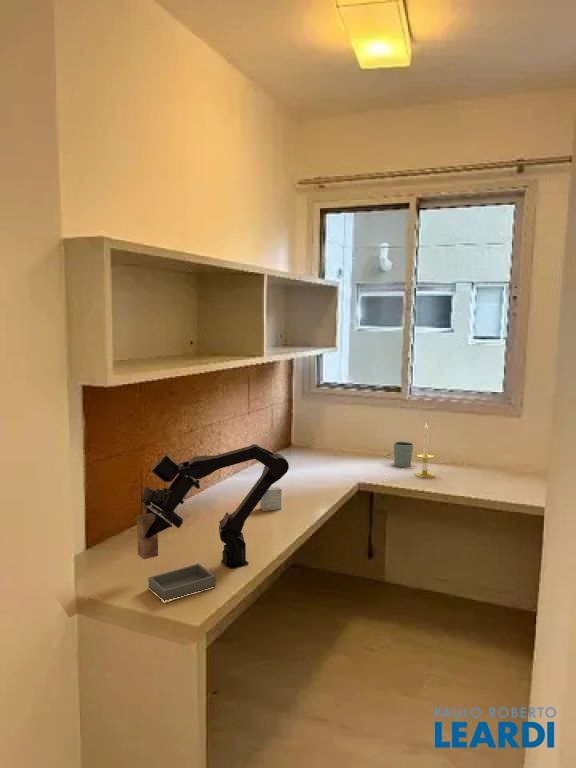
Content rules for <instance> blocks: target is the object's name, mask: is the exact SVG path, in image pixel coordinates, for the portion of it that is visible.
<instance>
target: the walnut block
mask: <svg viewBox="0 0 576 768" xmlns="http://www.w3.org/2000/svg"><path fill="white" fill-rule="evenodd" d="M154 521H155V515H154V514H152V513H148V514H145V513H144V514H139V515H136V529H137V531H136V533H137V535H136V537H137V555H138V556H139V557H140V558H141V559H143V560H147V559H151V558H156V557H158V556H159V534H158V533H157V534H155V535H153V536H151V537H150V538H146V537H145V535H146V533H147V532H148V530H149V529H150V527H151V526H152V524H153V522H154Z"/></svg>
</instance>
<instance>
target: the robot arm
mask: <svg viewBox="0 0 576 768" xmlns="http://www.w3.org/2000/svg"><path fill="white" fill-rule="evenodd" d="M252 460H256V461H258V462H259V463H261V464H262V465H264V467H263V470H262V472H261V474H260V477H259V478H258V480H257V481H256V482H255V483H254V485H253V487H252V488H251V489H250V491H249V492H248V493H247V495H246V496H245V497H244V499H243V500H242V501H241V503H240V504H239V506H237V508H236V510H235V511H233V512H231V513H229V512H228V511H227V512H225V514H224V516H223V518H221V520H219V521H218V523H219V525H218V533H219V538H220V541H221V542H222V543H223V550H222V559H221V561H220V563H221V564H223V565H225V566H226V567H227V568H229V569H231V570H233V569H237V568H239V567H242V566H246V565H247V566H248V565H249V561H247V559H246V555H247V553H246V552H247V549H246V542H245V537H244V535H243V534H244V533H243V532H242V531H243V529H244V525H245V522H246V520H247V519H248V518H249V516H251V514H252V512H253V511H254V509H255V508H256V507H257V506H258V504H260V500H261V499H262V497H263V496H264V495H265V493H266V492H267V490H268V489H269V488H270V487H272V485H273V484H275V483H277V482H278V481H280V480H281V479H282V478H283V477H284V476H285V475H286V474H287V473H288V471H289V469H290V466H289V464H290V463H289V462H288V460H287V459H286V458H285V456H284V455H283V454H281V453H279V452H278V453H277V452H276V453H273V452H271V451H270V450H269V449H265V448H264V447H261V446H260V445H258V444H256V443H253V444H251V445H248V446H245V447H241V448H238V449H234V450H231V451H230V450H229V451H228V452H227V451H226V452H224V453H220V454H214V455H199V456H198V455H197V456H196V455H195V456H193V457H192V458H190V459H189V460H187V461H183V462H176V461H174V460H173V459H172V458H171V457H170V456H169V455H168V454H167V453H166V454H165V455H163V457H161V458H160V459H158V460H157V461H156V462H155V464H153V466H152V467H151V470H150V472H151V473H152V474H154V475H155V476H156V477H157V478H158V479H160V480H161V481H162V482H164V483H170V485H169V486H168V488H166V487H163V488H162V489H160V488H154V487H153V488H152V487H150V486H145V487H144V490H143V492H142V495H141V497H142V498H141V500H140V503H142V504H144V505H143V507H144V512H145V513H144V514H148V513H152V514H154V515H155V521H154V522H153V524H152V526H151V527H150V529H149V530H148V532H147V533H146V535H145V537H146V538H150V537H151V536H153V535H155V534H157V533H160V532H162V531H164V530H166V529H169V528H172V527H173V525H174V527H176V528H178V529H180V528H181V526H182V525H183V524H184V523H183V521H184V520H183V517H181V516H180V515H178V514H177V513H176V512H175V510H176V509H177V507H178V506H179V505H184V503H185V501H184V498H186V496H187V495H188V493H189V492H190V491H191V489H192V488H193V487H194V488H195V489H197V490H199V489H200V488H201V486H200V480H201V479H203V478H205V477H208V476H209V475H212V474H213V473H215V472H216V471H218V470H220V469H224V468H227V467H230V466H234V465H238V464H241V463H245V462H248V461H252Z"/></svg>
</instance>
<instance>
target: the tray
mask: <svg viewBox="0 0 576 768" xmlns="http://www.w3.org/2000/svg"><path fill="white" fill-rule="evenodd" d="M147 579H148V589H149V588H150V589H151V590H152V591H153V592H155V593H156V594H157V595H158V596H159V597H160V598H162V599H163V600H164V601H165V600H169V599H173V598H177V597H181V596H184V595H187V594H191V593H194V592H198V591H202V590H205V589H208V588H211V587H215V586H216V575H215V574H213V573H212V572H211V571H209V570H208V569H206V567H204V566H202V565H201V564H200V563H195V564H192V565H188V566H185V567H182V568H177V569H175V570H170V571H167V572H163V573H160V574H157V575H152V576H149V577H148V578H147Z"/></svg>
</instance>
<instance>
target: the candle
mask: <svg viewBox="0 0 576 768" xmlns="http://www.w3.org/2000/svg"><path fill="white" fill-rule="evenodd" d="M429 430H430V429H429V425H428V423H427V422H426V423H425V425H424V427H423V451H422V452H423V453H417V454H416V457H418V458H421V459H422V470H421V471H416V472H414V476H416V477H419V478H424V479H425V478H430V479H431V478H434V477H436V475H435V473H433V472H430V471H428V470H429V469H428V465H429V459H433V458H435V455H433V454H431V453H430V454H429V453H428V452H429Z"/></svg>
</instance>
